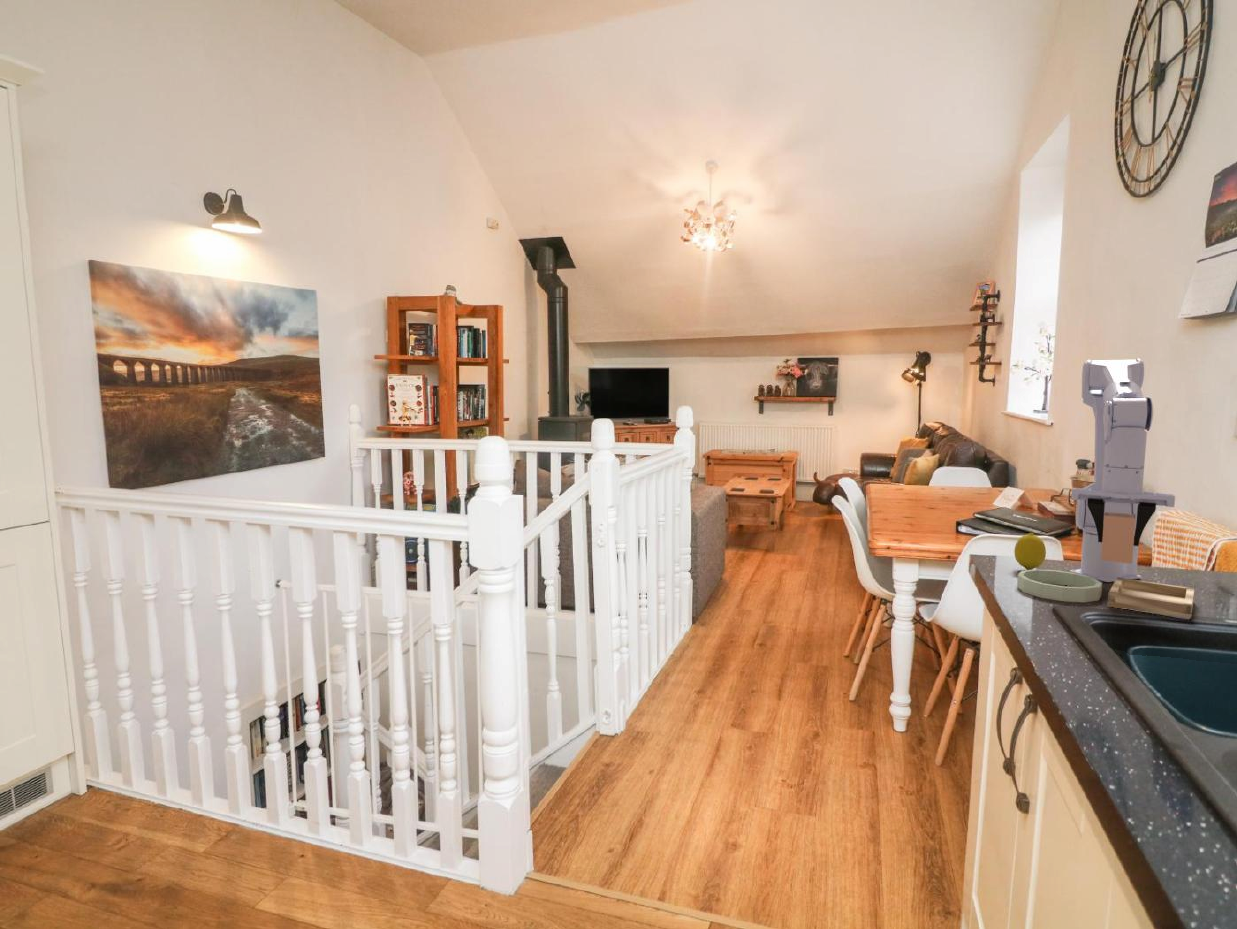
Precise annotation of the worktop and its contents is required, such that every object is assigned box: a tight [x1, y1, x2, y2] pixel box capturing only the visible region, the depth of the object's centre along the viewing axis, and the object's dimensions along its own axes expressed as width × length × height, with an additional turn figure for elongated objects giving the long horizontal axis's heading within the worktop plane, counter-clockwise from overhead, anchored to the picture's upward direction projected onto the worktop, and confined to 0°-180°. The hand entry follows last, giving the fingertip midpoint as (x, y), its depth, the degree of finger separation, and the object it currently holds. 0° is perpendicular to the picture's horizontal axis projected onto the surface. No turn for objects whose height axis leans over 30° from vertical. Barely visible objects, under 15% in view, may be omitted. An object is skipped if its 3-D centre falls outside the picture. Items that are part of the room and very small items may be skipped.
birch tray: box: [1107, 577, 1195, 619], centre depth 119 cm, size 13×11×2 cm
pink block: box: [1101, 512, 1136, 564], centre depth 121 cm, size 4×4×8 cm
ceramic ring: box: [1016, 568, 1103, 603], centre depth 127 cm, size 13×13×2 cm
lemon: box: [1014, 532, 1047, 570], centre depth 141 cm, size 6×6×8 cm
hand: (1118, 543), depth 121 cm, fingers closed on pink block, 4 cm apart
